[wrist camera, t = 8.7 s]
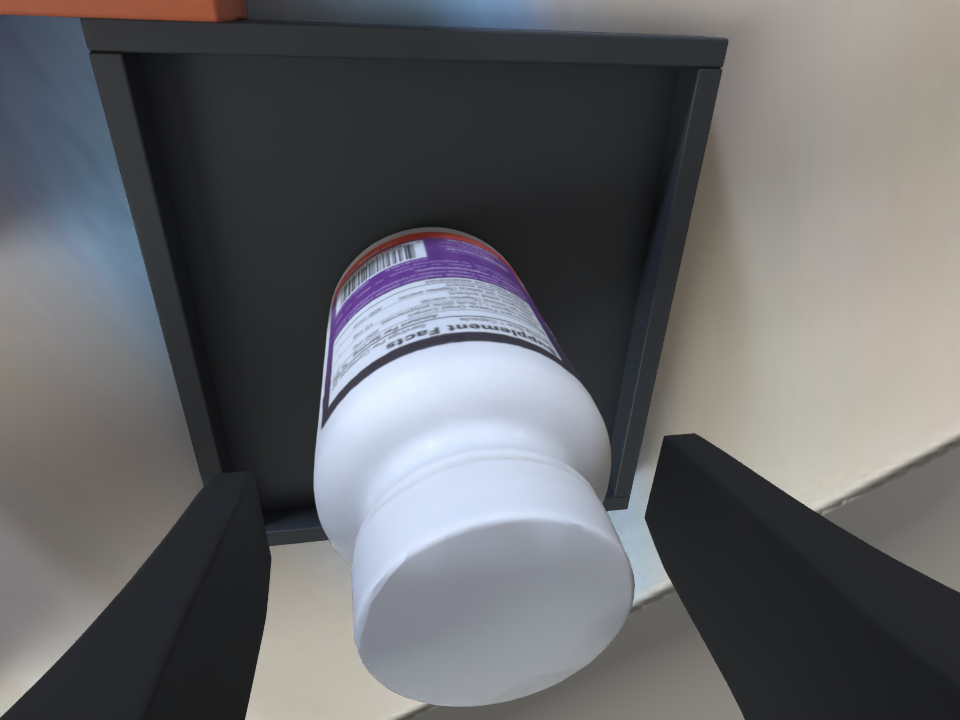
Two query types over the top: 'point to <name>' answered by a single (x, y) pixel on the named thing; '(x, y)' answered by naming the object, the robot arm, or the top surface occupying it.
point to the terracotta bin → (131, 9)
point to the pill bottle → (463, 477)
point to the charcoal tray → (396, 203)
